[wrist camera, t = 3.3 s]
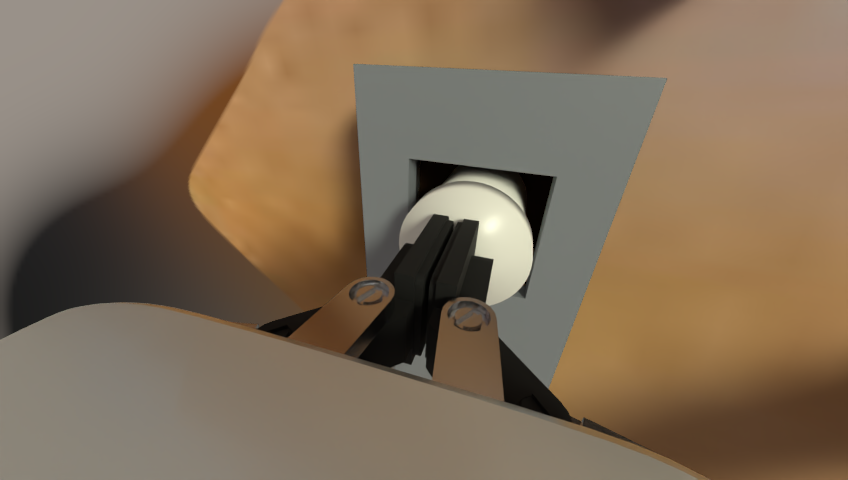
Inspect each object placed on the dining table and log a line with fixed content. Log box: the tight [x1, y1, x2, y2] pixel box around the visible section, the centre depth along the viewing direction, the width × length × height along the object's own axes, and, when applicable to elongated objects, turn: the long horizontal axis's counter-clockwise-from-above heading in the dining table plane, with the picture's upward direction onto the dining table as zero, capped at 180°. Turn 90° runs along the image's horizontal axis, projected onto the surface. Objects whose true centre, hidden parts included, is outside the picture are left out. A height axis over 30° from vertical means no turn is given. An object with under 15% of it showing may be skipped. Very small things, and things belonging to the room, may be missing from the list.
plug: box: [399, 165, 533, 306], centre depth 14 cm, size 5×5×6 cm
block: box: [353, 64, 667, 388], centre depth 19 cm, size 10×26×6 cm, turn 177°
